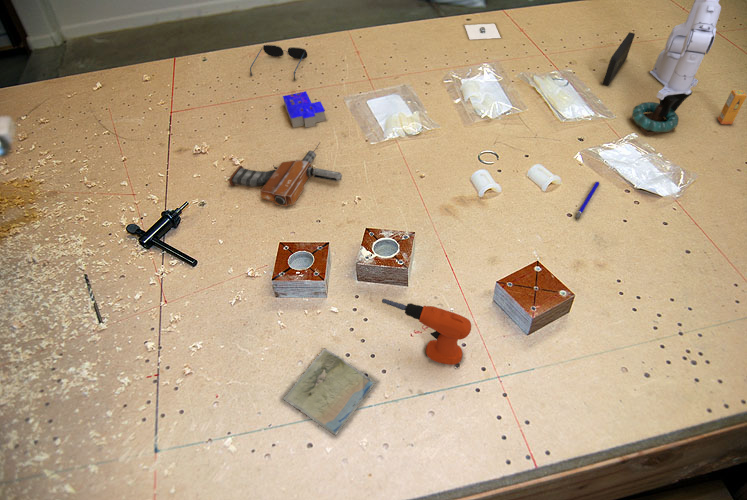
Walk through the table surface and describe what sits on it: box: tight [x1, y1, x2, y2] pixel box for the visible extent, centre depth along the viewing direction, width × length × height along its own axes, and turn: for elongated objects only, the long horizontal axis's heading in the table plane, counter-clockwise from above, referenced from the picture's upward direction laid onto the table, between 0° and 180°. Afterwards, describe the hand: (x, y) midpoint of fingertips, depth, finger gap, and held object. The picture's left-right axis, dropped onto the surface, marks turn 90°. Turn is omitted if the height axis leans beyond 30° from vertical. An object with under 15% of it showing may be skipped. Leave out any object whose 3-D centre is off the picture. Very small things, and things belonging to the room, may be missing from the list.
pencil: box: [574, 180, 600, 220], centre depth 139 cm, size 17×1×1 cm, turn 146°
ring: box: [631, 101, 680, 133], centre depth 159 cm, size 13×13×3 cm
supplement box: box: [717, 89, 747, 125], centre depth 157 cm, size 3×3×10 cm
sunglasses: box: [249, 44, 308, 81], centre depth 189 cm, size 17×15×5 cm
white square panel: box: [464, 23, 502, 41], centre depth 204 cm, size 12×12×2 cm
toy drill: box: [381, 298, 472, 366], centre depth 105 cm, size 5×19×15 cm, turn 71°
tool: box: [228, 142, 343, 207], centre depth 149 cm, size 4×27×30 cm
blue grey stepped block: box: [282, 90, 326, 129], centre depth 168 cm, size 11×15×5 cm
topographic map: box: [282, 347, 377, 436], centre depth 105 cm, size 14×14×2 cm
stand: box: [630, 105, 676, 137], centre depth 158 cm, size 9×9×7 cm
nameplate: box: [602, 31, 636, 86], centre depth 178 cm, size 21×2×10 cm, turn 146°
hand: (666, 112), depth 160 cm, fingers closed on ring, 3 cm apart
